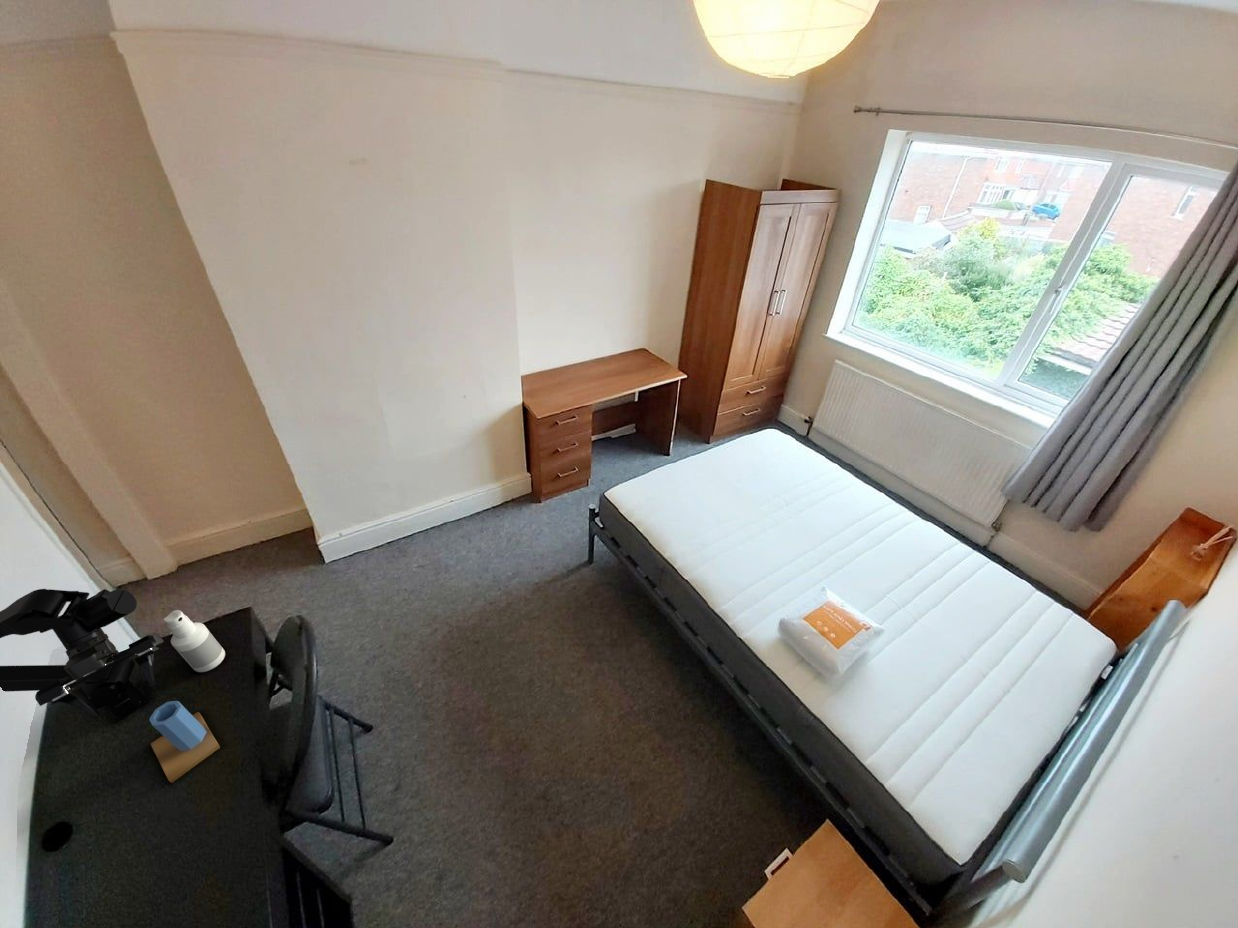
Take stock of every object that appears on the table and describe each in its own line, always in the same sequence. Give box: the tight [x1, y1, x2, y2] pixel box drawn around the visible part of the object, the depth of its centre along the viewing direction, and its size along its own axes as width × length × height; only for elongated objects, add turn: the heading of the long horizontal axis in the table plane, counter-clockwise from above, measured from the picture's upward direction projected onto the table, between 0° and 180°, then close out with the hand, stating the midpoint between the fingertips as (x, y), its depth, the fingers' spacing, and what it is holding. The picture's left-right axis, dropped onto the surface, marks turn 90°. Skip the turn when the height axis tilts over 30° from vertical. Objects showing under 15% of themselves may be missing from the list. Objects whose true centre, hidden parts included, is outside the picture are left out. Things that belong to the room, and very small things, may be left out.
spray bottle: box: [163, 609, 226, 673], centre depth 121 cm, size 7×7×18 cm
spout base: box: [150, 711, 221, 784], centre depth 107 cm, size 12×9×4 cm
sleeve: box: [148, 700, 206, 751], centre depth 106 cm, size 5×5×11 cm
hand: (126, 700), depth 103 cm, fingers open, 9 cm apart
